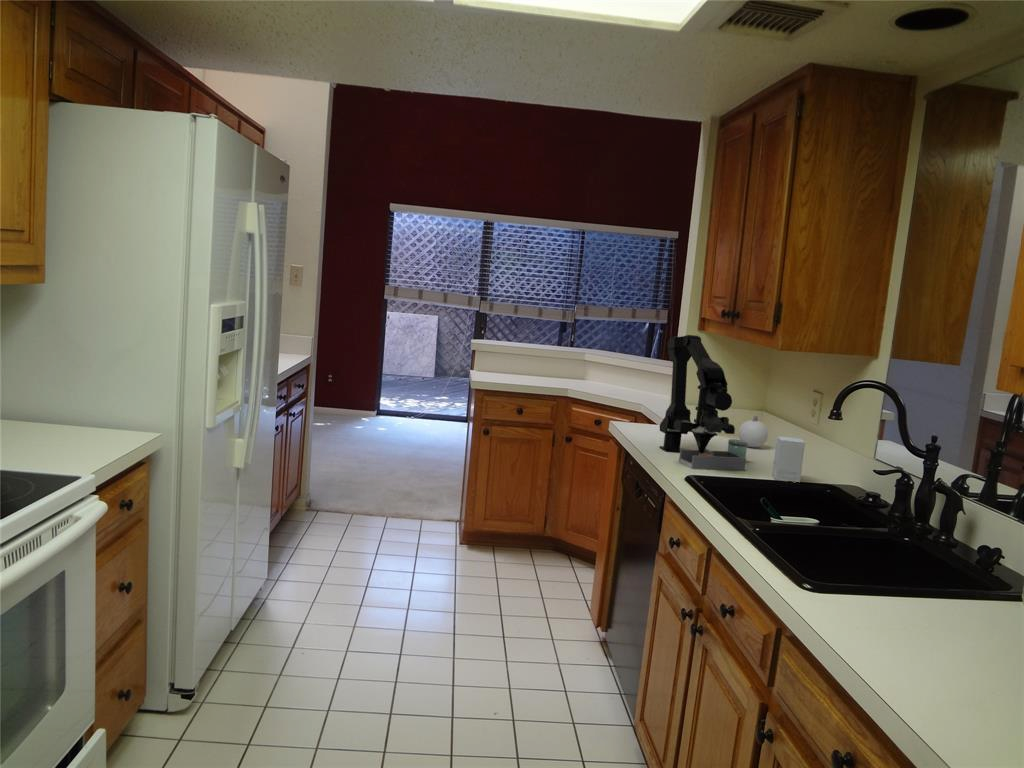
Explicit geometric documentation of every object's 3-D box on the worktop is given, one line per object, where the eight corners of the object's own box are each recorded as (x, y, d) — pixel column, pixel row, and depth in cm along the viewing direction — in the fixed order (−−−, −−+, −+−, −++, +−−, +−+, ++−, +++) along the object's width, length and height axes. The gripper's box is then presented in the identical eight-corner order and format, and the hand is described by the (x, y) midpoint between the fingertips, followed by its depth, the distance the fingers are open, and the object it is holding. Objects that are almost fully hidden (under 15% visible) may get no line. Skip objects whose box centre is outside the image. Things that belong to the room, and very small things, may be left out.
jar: (722, 459, 258) (725, 438, 257) (739, 459, 259) (741, 439, 258) (731, 463, 252) (734, 442, 251) (748, 464, 253) (751, 443, 252)
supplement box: (800, 483, 231) (805, 442, 230) (774, 480, 233) (780, 439, 231) (796, 477, 238) (801, 438, 237) (771, 474, 240) (776, 435, 238)
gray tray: (678, 461, 248) (680, 449, 247) (729, 463, 252) (730, 451, 251) (692, 468, 238) (694, 456, 238) (744, 470, 242) (746, 458, 242)
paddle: (697, 462, 248) (699, 447, 247) (701, 462, 248) (703, 447, 248) (707, 467, 241) (709, 452, 240) (712, 467, 241) (714, 452, 240)
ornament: (756, 451, 278) (760, 418, 277) (732, 445, 286) (736, 413, 284) (771, 449, 285) (775, 417, 284) (747, 443, 293) (751, 412, 291)
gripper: (690, 407, 232) (684, 457, 234) (746, 411, 236) (740, 460, 238) (675, 402, 243) (670, 449, 245) (729, 405, 247) (723, 452, 249)
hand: (701, 453), depth 244 cm, fingers closed
